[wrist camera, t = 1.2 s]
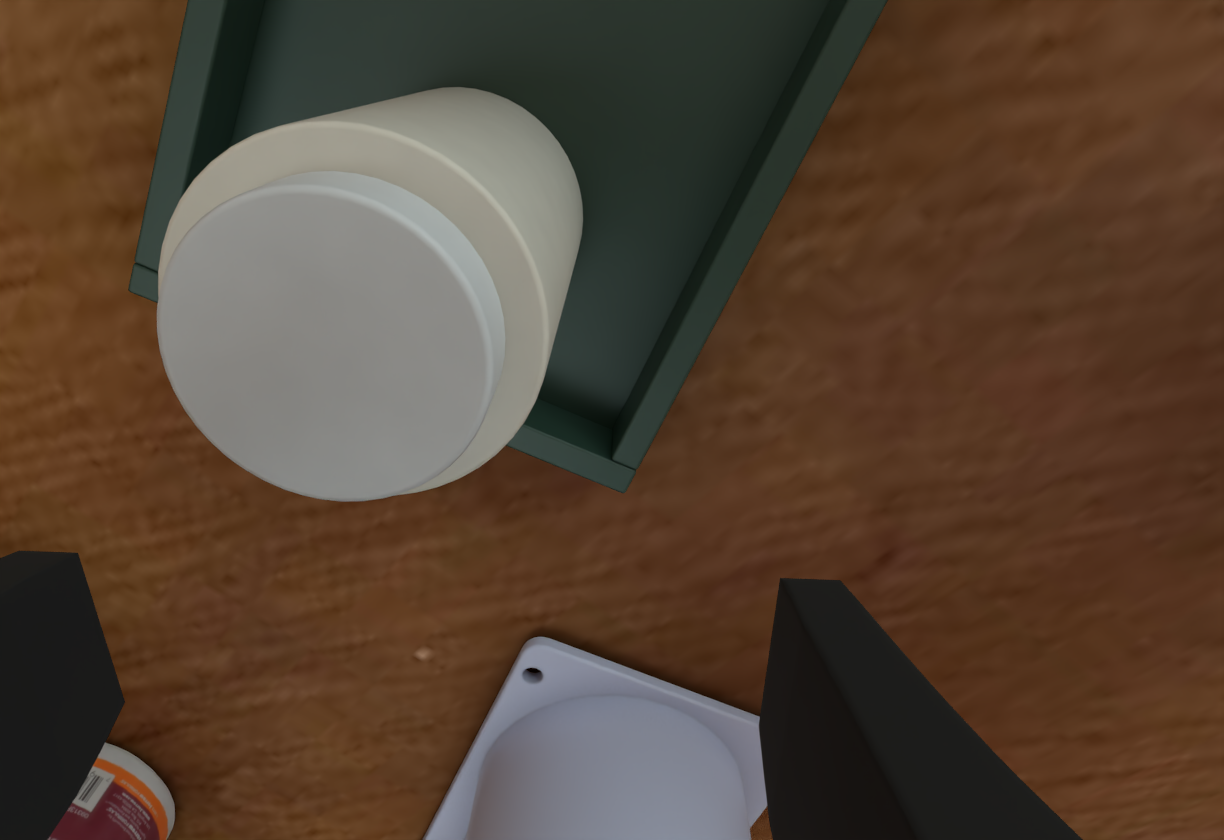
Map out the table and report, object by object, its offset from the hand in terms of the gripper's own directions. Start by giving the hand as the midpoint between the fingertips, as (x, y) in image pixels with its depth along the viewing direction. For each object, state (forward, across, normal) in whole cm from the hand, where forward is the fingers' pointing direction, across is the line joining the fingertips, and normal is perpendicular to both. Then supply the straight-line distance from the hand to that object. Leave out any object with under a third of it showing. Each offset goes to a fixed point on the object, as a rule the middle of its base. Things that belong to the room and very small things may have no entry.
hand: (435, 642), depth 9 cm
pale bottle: (+9, +1, -2) cm, 10 cm away
